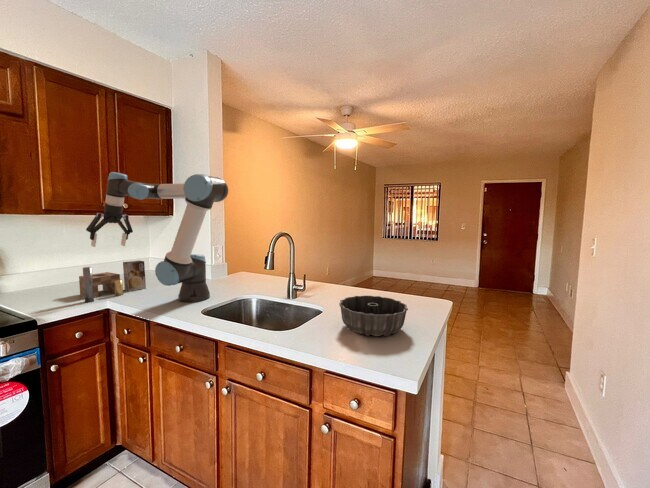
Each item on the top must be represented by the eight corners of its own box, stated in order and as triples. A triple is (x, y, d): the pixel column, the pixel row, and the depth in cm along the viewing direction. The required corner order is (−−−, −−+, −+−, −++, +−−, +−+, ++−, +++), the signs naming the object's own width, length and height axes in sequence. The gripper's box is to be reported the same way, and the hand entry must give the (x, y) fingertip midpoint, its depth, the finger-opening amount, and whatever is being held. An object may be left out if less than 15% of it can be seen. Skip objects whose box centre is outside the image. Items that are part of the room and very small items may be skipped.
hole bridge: (120, 292, 172) (119, 274, 171) (92, 297, 160) (90, 278, 159) (108, 289, 178) (107, 272, 177) (80, 294, 165) (78, 276, 164)
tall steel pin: (95, 301, 154) (93, 267, 153) (87, 302, 151) (84, 268, 149) (91, 300, 156) (89, 266, 154) (83, 301, 153) (81, 267, 151)
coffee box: (141, 286, 185) (140, 260, 183) (146, 288, 181) (144, 261, 179) (124, 289, 177) (122, 261, 176) (128, 291, 174) (127, 263, 172)
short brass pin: (124, 294, 167) (123, 280, 166) (117, 296, 163) (116, 281, 163) (120, 293, 168) (120, 279, 167) (113, 295, 165) (112, 280, 164)
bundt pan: (396, 317, 136) (397, 295, 135) (416, 342, 110) (417, 314, 109) (336, 317, 135) (336, 294, 134) (341, 342, 109) (342, 314, 108)
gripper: (136, 205, 165) (130, 243, 168) (80, 200, 143) (75, 244, 147) (144, 208, 162) (138, 247, 165) (88, 203, 140) (83, 248, 143)
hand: (108, 245), depth 156 cm, fingers open, 13 cm apart
